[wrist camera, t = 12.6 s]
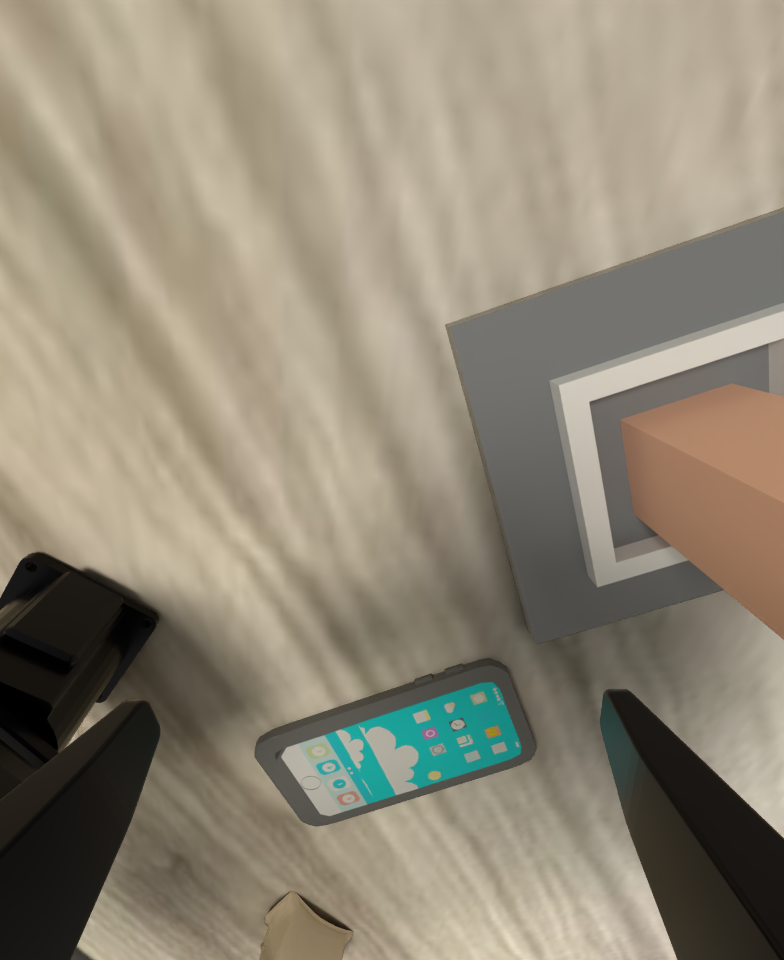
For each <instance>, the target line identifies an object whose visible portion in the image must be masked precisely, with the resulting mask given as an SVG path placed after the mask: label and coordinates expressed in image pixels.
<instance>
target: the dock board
mask: <svg viewBox="0 0 784 960" xmlns="http://www.w3.org/2000/svg"><path fill="white" fill-rule="evenodd" d="M445 326H446V330H447V333H448V337H449V341H450V344H451V348H452V352H453V355H454V359H455V363H456V366H457V370H458V374H459V377H460V381H461V385H462V389H463V392H464V396H465V400H466V403H467V407H468V411H469V414H470V418H471V422H472V425H473V429H474V433H475V436H476V440H477V444H478V447H479V451H480V455H481V459H482V462H483V466H484V470H485V473H486V477H487V481H488V484H489V488H490V492H491V495H492V499H493V503H494V506H495V510H496V514H497V517H498V521H499V525H500V529H501V532H502V536H503V540H504V543H505V547H506V551H507V554H508V558H509V562H510V565H511V569H512V573H513V576H514V580H515V584H516V588H517V591H518V595H519V599H520V602H521V606H522V610H523V613H524V617H525V621H526V624H527V628H528V631H529V633H530V635H531V637H532V639H533V641H534V643H535V645H536V644H540V643H543V642H547V641H550V640H554V639H557V638H560V637H564V636H567V635H571V634H574V633H578V632H581V631H584V630H588V629H591V628H595V627H598V626H602V625H605V624H608V623H612V622H615V621H619V620H622V619H626V618H629V617H632V616H636V615H639V614H643V613H646V612H650V611H653V610H656V609H660V608H663V607H667V606H670V605H674V604H677V603H681V602H684V601H687V600H691V599H694V598H698V597H701V596H705V595H708V594H711V593H715V592H718V591H722V590H724V589H723V588H721V587H720V586H719V585H718V584H717V583H715V582H714V581H713V580H712V579H711V578H709V577H708V576H707V575H706V574H705V573H703V572H702V571H701V570H700V569H699V568H697V567H696V566H695V565H694V564H693V563H691V562H690V561H689V560H688V559H687V558H686V557H684V556H683V555H682V554H681V553H680V552H678V551H677V550H676V549H675V548H674V547H672V546H671V545H670V544H669V543H668V542H666V541H665V540H664V539H663V538H662V537H660V536H659V535H658V534H657V533H656V532H654V531H653V530H652V529H651V528H650V527H648V526H647V525H646V524H645V523H644V522H642V521H641V520H640V519H639V518H638V517H636V516H635V515H634V511H633V505H632V498H631V491H630V484H629V477H628V470H627V463H626V456H625V450H624V443H623V436H622V429H621V422H620V420H621V419H624V418H627V417H630V416H633V415H636V414H639V413H642V412H645V411H648V410H652V409H655V408H658V407H661V406H664V405H667V404H670V403H673V402H676V401H679V400H682V399H686V398H689V397H692V396H695V395H698V394H701V393H704V392H707V391H710V390H713V389H716V388H720V387H723V386H726V385H729V384H736V385H740V386H744V387H748V388H752V389H756V390H760V391H763V392H767V393H771V394H775V395H779V396H783V397H784V208H781V209H778V210H775V211H772V212H769V213H766V214H764V215H761V216H758V217H755V218H752V219H749V220H746V221H743V222H741V223H738V224H735V225H732V226H729V227H726V228H723V229H720V230H717V231H715V232H712V233H709V234H706V235H703V236H700V237H697V238H694V239H692V240H689V241H686V242H683V243H680V244H677V245H674V246H671V247H668V248H666V249H663V250H660V251H657V252H654V253H651V254H648V255H645V256H643V257H640V258H637V259H634V260H631V261H628V262H625V263H622V264H619V265H617V266H614V267H611V268H608V269H605V270H602V271H599V272H596V273H594V274H591V275H588V276H585V277H582V278H579V279H576V280H573V281H570V282H568V283H565V284H562V285H559V286H556V287H553V288H550V289H547V290H545V291H542V292H539V293H536V294H533V295H530V296H527V297H524V298H521V299H519V300H516V301H513V302H510V303H507V304H504V305H501V306H498V307H495V308H493V309H490V310H487V311H484V312H481V313H478V314H475V315H472V316H470V317H467V318H464V319H461V320H458V321H455V322H452V323H449V324H446V325H445Z"/></svg>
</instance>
